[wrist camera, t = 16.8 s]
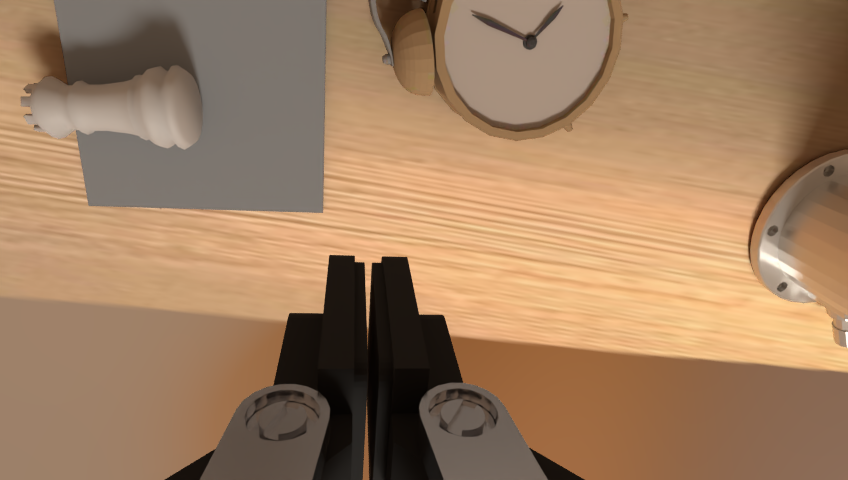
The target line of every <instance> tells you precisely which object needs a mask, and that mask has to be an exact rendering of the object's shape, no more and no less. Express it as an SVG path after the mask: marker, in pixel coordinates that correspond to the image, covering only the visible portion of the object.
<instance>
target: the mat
mask: <svg viewBox="0 0 848 480" xmlns="http://www.w3.org/2000/svg"><path fill="white" fill-rule="evenodd" d="M54 4H55V10H56V16H57V21H58V27H59V33H60V39H61V45H62V51H63V57H64V63H65V69H66V75H67V81H68V85H73V84H74V83H75V82H76V81H84V82H86V83H87V84H89V85H103V84H110V83H118V82H124V81H128V80H131V79H133V77H134V76H136V75H143V74H144V72H145V71H146V70H147V69H150V68H154V67H160V66H161V67H163V68H164V69H165V70H166V71H168V70H169V69H170V67H171V66H175V65H178V66H180V67H181V68H183V69H184V70H186V71H187V72H189V73H190V74H191V75H192V76H193V78H194V80H195V82H196V83H197V86H198V89H199V93H200V96H201V103H202V110H203V124H202V130H201V135H200V137H199V139H198V141H197V142H196V143H194V144H193V145H192V146H190V147H188V148H187V149H185V150H184V149H182V148H180V147H178V146H177V145H176V144H175V145H174V146H172V147H170V148H164V147H160V146H158V145H156V144H154V143H153V142H151V141H150V140H144V139H142V138H140V137H139V136H137V135H133V134H127V133H120V132H112V131H95V132H94V133H92V134H89V135H87V134H85V133H82V132H81V131H79V130H76V134H77V140H78V146H79V151H80V157H81V163H82V169H83V175H84V181H85V187H86V193H87V199H88V205H89V206H114V207H147V208H180V209H213V210H246V211H279V212H312V213H323V183H324V119H325V55H326V0H54Z"/></svg>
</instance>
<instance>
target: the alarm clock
mask: <svg viewBox="0 0 848 480" xmlns="http://www.w3.org/2000/svg"><path fill="white" fill-rule="evenodd" d="M421 1H423V2H426V1H427V0H421ZM369 6H370V12H371V16H372V19H373V21H374V24H375V26H376V28H377V29H378V31H379V33H380V35H381V37H382V39H383V42H384V44H385V47H386V50H387V52H388V54H385V55H384V56H383V57H382V59H383V63H385V64H390V65H391V66H393V68H394V71H395V74H396V76H397V78H398V80H399V82H400V83H401V85H402V86H403V87H404V88H405V89H406V90H407V91H409V92H410V93H413V94H415V95H422V96H430V95H431V93H432V91H433V86H434V88H435V90H436V91H437V92H438V93H439V95H440V96H441V97H442V98H443V100H444V101H445V102H446V103H447V104H448V106H449V107H450V108H451V109H452V110H453V111H454V112H456V113H457V114H459V115H460V116H462V118H463V119H464V120H465V121H466V122H468V123H470V124H471V125H473V126H475V127H476V128H478V129H480V130H481V131H483V132H485V133H486V134H488V135H490V136H494V137H499V138H504V139H510V140H515V141H518V140H526V139H533V138H540V137H544V136H547V135H549V134H551V133H553V132H555V131H557V130H559V129H561V128H565V130H566V131H567V132H570V131H571V130H572V129H573V128H572V124H571V123H572V122H573V121H574V120H575V119H576V118H578V117H579V116H580V115H581V114H582V113H583V112H584V111H586V110H587V109H588V108H589V107H590V106H591V105H592V104H593V103H594V101H595V100H596V98H597V97H598V95H599V94H600V92H601V91H602V89H603V88H604V86H605V85H606V83H607V82H608V81H609V79H610V76H611V73H612V71H613V68H614V65H615V62H616V60H617V57H618V54H619V51H620V48H621V37H622V25H623V22H624V21H626V20H628V14H623V12H622V7H621V2H620V0H429V3H428V8H427V12H426V14H425V12H424V10H423V9H422V8H419V9H414V10H412V11H409V12H408V13H406V14H405V15H403V16H402V17H401V18H400V19H399V20H398V22H397V23H396V25H395V27H394V30H393V34H392V38H391V47H390V43H389V40H388V37H387V35H386V33H385V31H384V30H383V28H382V26H381V23H380V20H379V18H378V14H377V8H376V0H369Z"/></svg>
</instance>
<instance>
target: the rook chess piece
mask: <svg viewBox="0 0 848 480" xmlns="http://www.w3.org/2000/svg"><path fill="white" fill-rule="evenodd" d="M24 90H25V92H26V93H31V96H30V97H21V106H24V107H31V111H32V114H26V115H24V118H25V120H26V122H27V123H28V124H37V125H34V130H36V131H39V132H47V133H48V134H49V135H51V136H52V137H55V138H58V139H61V138H64V137H67V136H68V135H69V134H70V133H72V132H73V131H74V130H79V131H81V132H82V133H85V134H87V135H89V134H92V133H94V132H95V131H112V132H120V133H127V134H133V135H137V136H139V137H140V138H142V139H144V140H150V141H151V142H153V143H154V144H156V145H158V146H160V147H164V148H170V147H172V146H174V145H175V144H176V145H177V146H178V147H180V148H182V149H184V150H185V149H187V148H188V147H190V146H192V145H193V144H194V143H196V142H197V141H198V139H199V137H200V135H201V130H202V124H203V110H202V103H201V96H200V93H199V89H198V86H197V83H196V82H195V80H194V78H193V76H192V75H191V74H190V73H189V72H187V71H186V70H184V69H183V68H181V67H180V66H178V65H175V66H171V67H170V69H169V70H168V71H166V70H165V69H164V68H163V67H161V66H160V67H154V68H150V69H147V70H146V71H145V72H144V74H143V75H136V76H134V77H133V79H131V80H128V81H124V82H118V83H110V84H103V85H89V84H87V83H86V82H84V81H76V82H75V83H74V84H73V85H67V84H65V83H64V82H62V81H61V80H59V79H57V78H55V77H53V76H48V77H44V78H43V79H42V80H41V81H40V82H39V83H34V84H28V85H27V86H26V87H25V88H24Z"/></svg>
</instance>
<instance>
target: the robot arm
mask: <svg viewBox="0 0 848 480" xmlns="http://www.w3.org/2000/svg"><path fill="white" fill-rule="evenodd" d="M750 256H751V264H752V268H753V271H754V274H755V275H756V277H757V279H758V280H759V282H760V283H761V284H762V285H763V286H764V287H765V288H767V289H768V290H769V291H770V292H772V293H774V294H775V295H777V296H778V297H780V298H782V299H785V300H788V301H791V302H798V303H811V302H818V303H820V304H821V305H823V306H824V307H826V312H827V314H828V315H829V316H830V317H832V318H833V322H832V329H833V337H834V340H835V343H837V344H838V345H840V346H843V347H846V348H848V150H841V151H837V152H833V153H829V154H827V155H825V156H822V157H820V158H818V159H815V160H813V161H812V162H810V163H808V164H807V165H805V166H804V167H802V168H800V169H799V170H798V171H796V172H795V173H794V174H793V175H792V176H790V177H789V178H788V179H787V180H786V181H785V182H784V183H783V184H782V185H781V186H780V187H779V188H778V189H777V190H776V191H775V193H774V194H773V195H772V196H771V198H770V199H769V201H768V202H767V204H766V205H765V207H764V208H763V210H762V212H761V214H760V216H759V218H758V220H757V222H756V225H755V228H754V231H753V235H752V239H751V247H750ZM366 403H367V412H368V413H367V415H368V447H369V448H368V449H369V480H584V479H582V478H581V477H579V476H577V475H575V474H574V473H572V472H570V471H568V470H567V469H565V468H563V467H562V466H560V465H558V464H556V463H555V462H553V461H551V460H550V459H548V458H546V457H544V456H543V455H541V454H539V453H537V452H536V451H534V450H532V449H531V448H529V447H528V445H527V444H526V442H525V440H524V439H523V437H522V435H521V433H520V432H519V430H518V428H517V427H516V425H515V423H514V421H513V420H512V418H511V416H510V415H509V413H508V411H507V410H506V408H505V406H504V405H503V404H502V402H501V401H500V400H499V399H498V398H497V397H496V396H495V395H493V394H492V393H490V392H489V391H487V390H485V389H483V388H480V387H478V386H475V385H471V384H466V383H463V381H462V378H461V374H460V370H459V367H458V363H457V360H456V356H455V353H454V349H453V346H452V342H451V338H450V335H449V331H448V328H447V324H446V321H445V318H444V316H443V315H419V312H418V308H417V303H416V298H415V293H414V288H413V283H412V278H411V273H410V269H409V264H408V259H407V257H382V261H381V263H372V272H371V292H370V312H369V332H368V351H367V322H366V293H365V264H364V263H362V262H355V256H344V255H330V256H329V265H328V275H327V284H326V294H325V303H324V313H323V314H318V313H290V314H289V317H288V321H287V325H286V330H285V335H284V339H283V344H282V349H281V353H280V358H279V363H278V367H277V372H276V376H275V381H274V386H270V387H266V388H263V389H261V390H259V391H256V392H254V393H253V394H251V395H250V396H249V397H247V398H246V399H244V400H243V401H242V403H241V404H240V405H239V407H238V408H237V409H236V411H235V413H234V415H233V417H232V419H231V421H230V423H229V425H228V426H227V428H226V430H225V432H224V434H223V436H222V438H221V440H220V442H219V444H218V446H217V448H216V449H215V450H213V451H211V452H210V453H208V454H206V455H205V456H203V457H201V458H200V459H198V460H196V461H195V462H193V463H191V464H190V465H188V466H187V467H185V468H183V469H182V470H180V471H178V472H177V473H175V474H173V475H172V476H170V477H169V478H167V479H165V480H362V479H363V460H364V459H363V458H364V440H365V420H366Z"/></svg>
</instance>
